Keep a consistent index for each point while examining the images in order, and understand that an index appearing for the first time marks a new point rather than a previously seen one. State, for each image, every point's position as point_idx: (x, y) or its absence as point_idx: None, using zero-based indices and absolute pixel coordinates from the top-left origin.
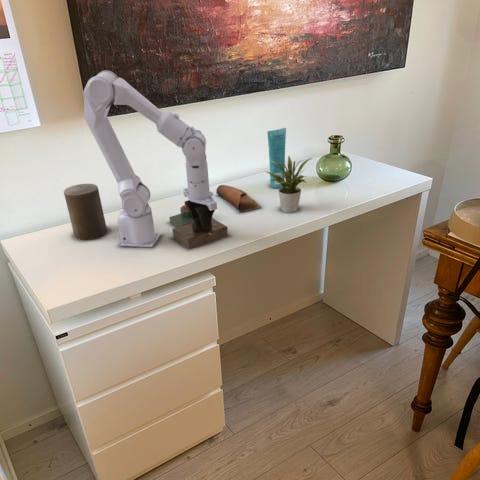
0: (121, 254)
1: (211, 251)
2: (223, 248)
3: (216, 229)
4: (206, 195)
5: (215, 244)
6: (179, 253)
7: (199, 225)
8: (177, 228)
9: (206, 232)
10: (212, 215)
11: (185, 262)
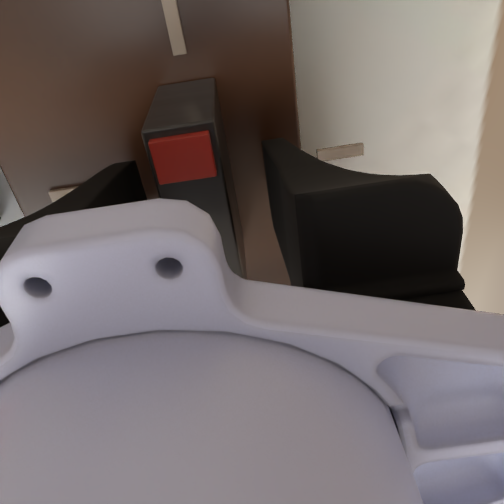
0: None
1: (427, 162)
2: (453, 64)
3: (283, 56)
4: (411, 480)
5: (349, 91)
6: None
7: (239, 233)
8: None
9: None
10: (347, 171)
11: None
